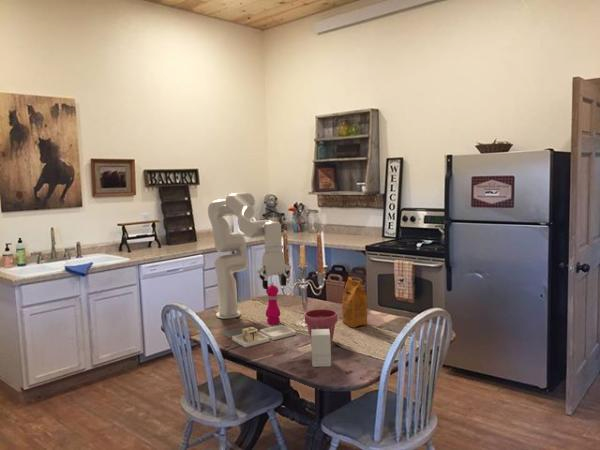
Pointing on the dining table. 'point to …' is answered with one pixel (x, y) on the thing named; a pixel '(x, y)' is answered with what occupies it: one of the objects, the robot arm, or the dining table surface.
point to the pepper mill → (272, 305)
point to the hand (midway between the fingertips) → (274, 287)
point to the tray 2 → (277, 332)
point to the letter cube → (250, 334)
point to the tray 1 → (240, 340)
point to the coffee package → (354, 304)
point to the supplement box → (321, 347)
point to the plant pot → (321, 320)
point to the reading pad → (233, 332)
